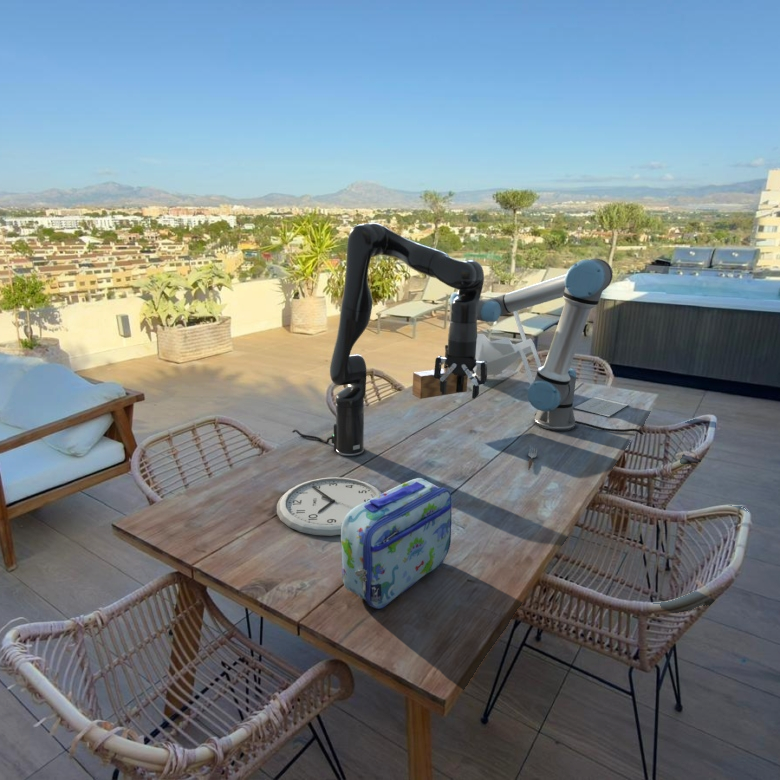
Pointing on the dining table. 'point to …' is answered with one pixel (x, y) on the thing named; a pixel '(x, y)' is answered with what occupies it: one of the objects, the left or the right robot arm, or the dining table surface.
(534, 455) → the fork
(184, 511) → the dining table surface
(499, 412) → the dining table surface
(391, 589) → the lunch box
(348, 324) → the left robot arm
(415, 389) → the box
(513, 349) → the white plastic object
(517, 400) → the dining table surface
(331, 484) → the wall clock
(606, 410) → the invitation card
